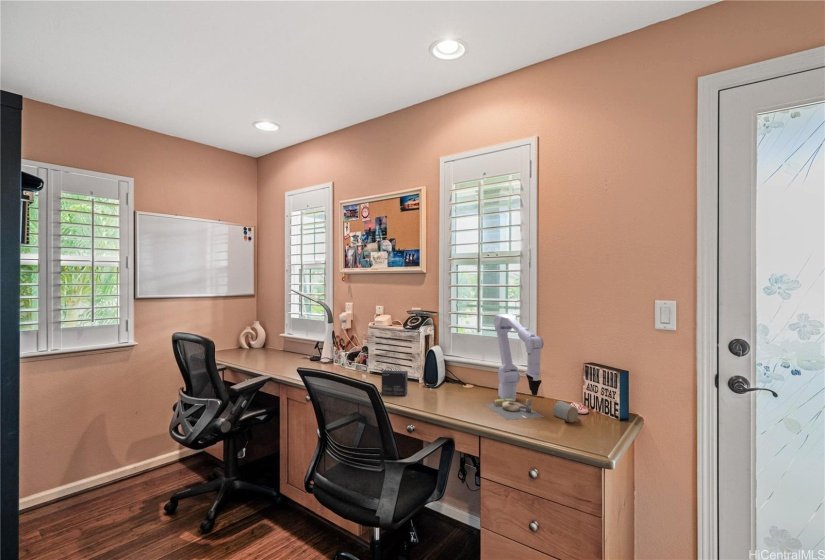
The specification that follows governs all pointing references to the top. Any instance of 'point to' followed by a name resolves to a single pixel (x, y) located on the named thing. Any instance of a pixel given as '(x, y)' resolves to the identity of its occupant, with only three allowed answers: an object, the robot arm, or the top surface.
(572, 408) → the ceramic mug
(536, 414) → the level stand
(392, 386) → the small box
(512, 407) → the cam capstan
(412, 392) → the top surface
